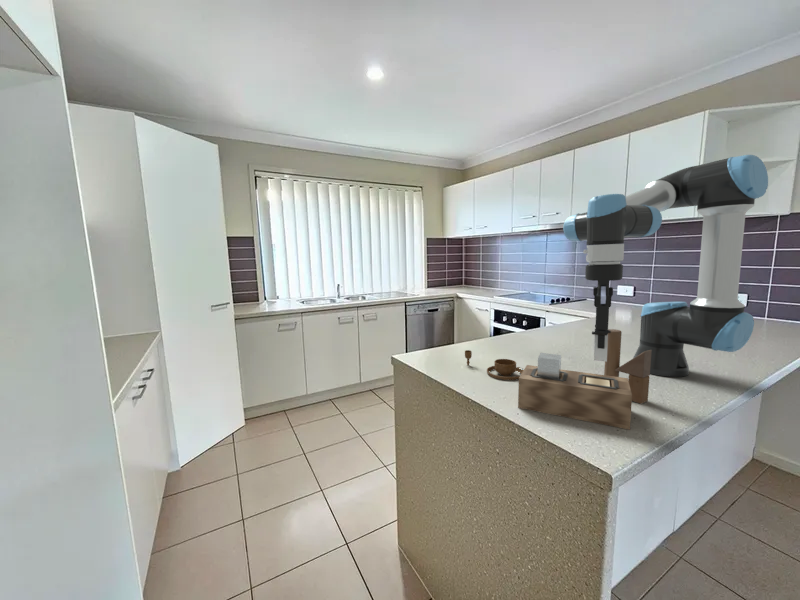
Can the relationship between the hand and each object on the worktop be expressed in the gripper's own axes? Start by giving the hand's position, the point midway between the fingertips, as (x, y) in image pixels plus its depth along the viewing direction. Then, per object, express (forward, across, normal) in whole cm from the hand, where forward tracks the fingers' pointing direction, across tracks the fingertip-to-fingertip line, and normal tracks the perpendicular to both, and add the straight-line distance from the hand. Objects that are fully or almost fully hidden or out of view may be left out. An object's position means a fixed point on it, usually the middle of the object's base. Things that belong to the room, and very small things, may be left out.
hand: (600, 360), depth 81 cm
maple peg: (+14, +1, 0) cm, 14 cm away
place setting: (+14, -20, -30) cm, 39 cm away
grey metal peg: (+8, 0, -11) cm, 14 cm away
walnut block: (+13, +1, -6) cm, 15 cm away
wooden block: (+14, -14, +6) cm, 21 cm away
